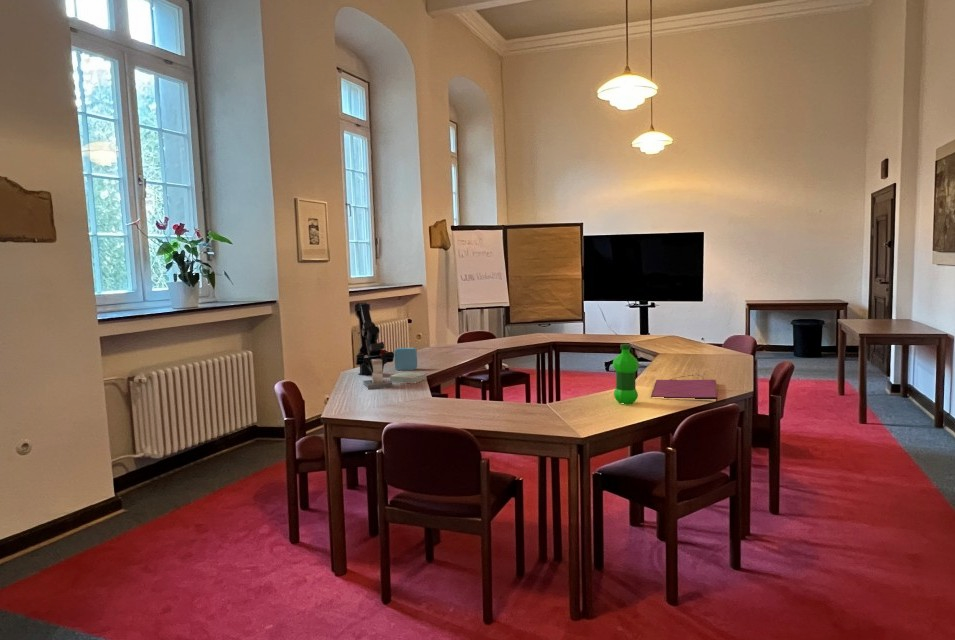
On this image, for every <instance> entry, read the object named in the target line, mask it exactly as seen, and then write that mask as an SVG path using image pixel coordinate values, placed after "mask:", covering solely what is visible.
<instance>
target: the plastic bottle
mask: <svg viewBox="0 0 955 640" xmlns="http://www.w3.org/2000/svg"><path fill="white" fill-rule="evenodd" d="M619 349H620V350H621V353H620V354H618V355H617V356H616V357H615V358H614V359H613V360H612V367H613V369H614V371H615V382H616V383H615V386H616V387H615V389H614V392H613V397H614V399H615V400H616V401H617V402H618V403H619V404H620V403H624V404H631V403H632V404H633V403H635V402H636V401H637V400H638V398H639V397H638V396H639V393H638V391H637V388H636V372H637V371H638V370H639V367H640V366H639V364H640V363H639V361H638V359H637V358H636V357H635V356H634V355H633V354H632V353H631V352H630V350H632V344H630V343H621V344H620V348H619ZM632 404H631V405H632Z"/></svg>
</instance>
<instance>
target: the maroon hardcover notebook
mask: <svg viewBox="0 0 955 640" xmlns="http://www.w3.org/2000/svg"><path fill="white" fill-rule="evenodd" d="M691 376H692V377H693V376H694V374H690V375H688V377H691ZM698 376H699V377H701V378H703V376H702V375H699V374H698ZM678 378H680V376H677V377H674V378H671V379H656V380H655V383H654V386H653V389H652V392H651V396H650V398H651V397H664V398H695V399H717V400H718V388H717V380H716V379H678ZM681 378H685V375H683V376H681Z"/></svg>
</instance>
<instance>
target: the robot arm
mask: <svg viewBox="0 0 955 640" xmlns="http://www.w3.org/2000/svg"><path fill="white" fill-rule="evenodd" d="M353 312H354V315H355V317H356V318H357V319H358V327H359V338H360V339H359V340H360V347H359V349H358V353H357V354H356V355H355V365H356V366H359V373H358V374H362V375H361V376H369V375H372V373H373V368H372V364H371V359H381V360H382V371H383V372H384V367H385V364H387V363H393V362H394V360H395V356H394V351H385V354H381V353H382V350H384V348H385V343H384V341H380V342H379V343H378V339H379V335H380V332H381V331H380V328H379V327H378V326H377V325H376V324H375V323H374V322H373V320H372V316H371V304H370V303H368V302H355V304H353Z"/></svg>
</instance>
